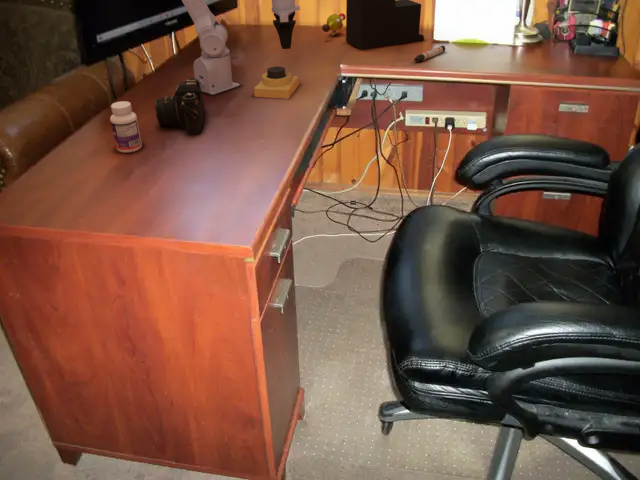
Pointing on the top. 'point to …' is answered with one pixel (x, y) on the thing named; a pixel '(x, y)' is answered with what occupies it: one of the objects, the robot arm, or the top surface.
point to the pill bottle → (125, 127)
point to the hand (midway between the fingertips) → (286, 44)
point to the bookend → (382, 22)
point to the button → (276, 72)
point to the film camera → (182, 107)
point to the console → (276, 86)
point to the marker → (430, 54)
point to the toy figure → (334, 23)
